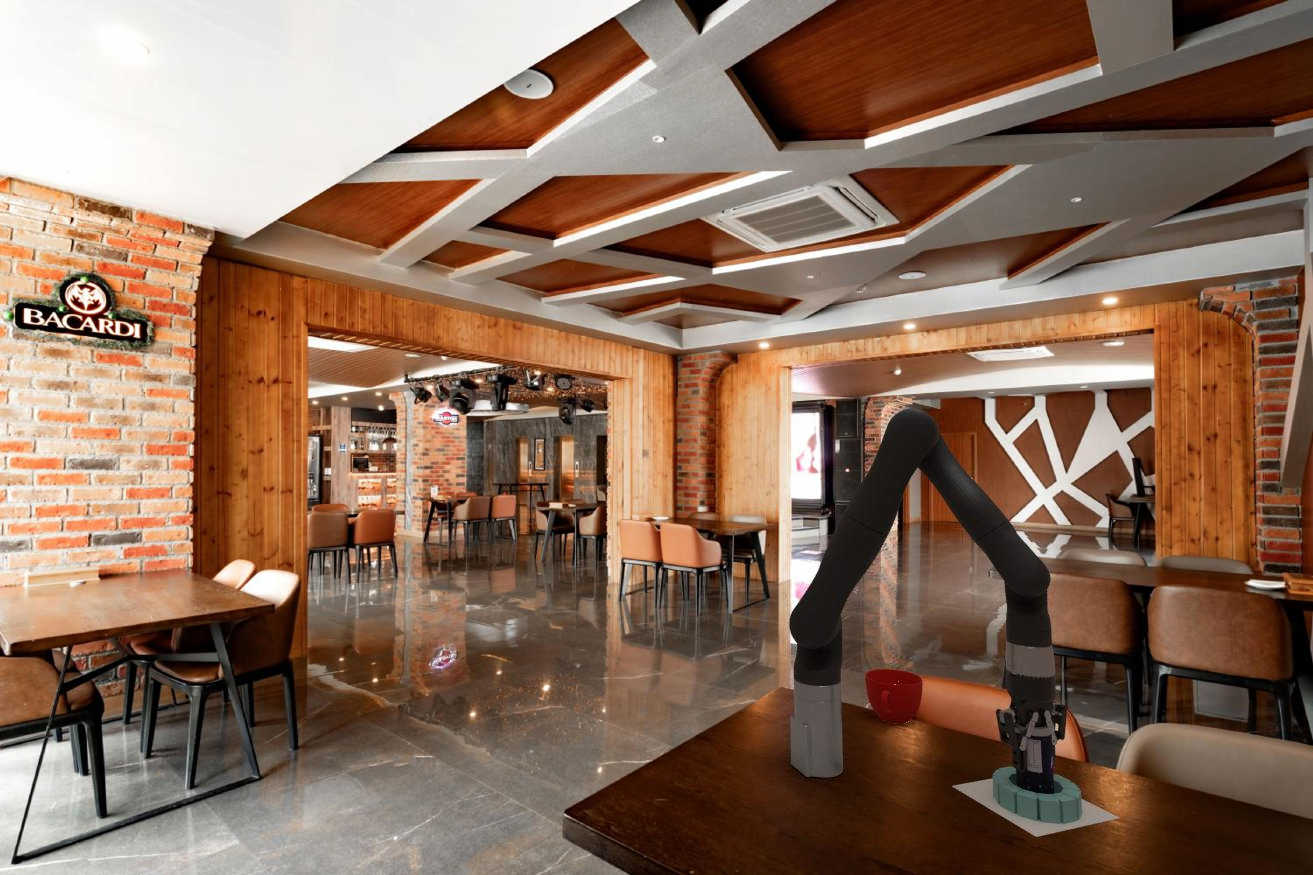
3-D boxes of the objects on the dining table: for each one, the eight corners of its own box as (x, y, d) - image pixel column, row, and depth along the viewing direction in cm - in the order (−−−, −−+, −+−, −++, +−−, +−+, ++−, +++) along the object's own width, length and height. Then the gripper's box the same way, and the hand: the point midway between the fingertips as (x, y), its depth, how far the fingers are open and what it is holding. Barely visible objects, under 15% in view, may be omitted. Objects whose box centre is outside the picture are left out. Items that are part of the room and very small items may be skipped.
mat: (1036, 841, 102) (1036, 836, 102) (951, 790, 119) (951, 785, 119) (1120, 822, 107) (1119, 817, 108) (1027, 776, 125) (1027, 771, 125)
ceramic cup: (855, 728, 149) (854, 683, 150) (873, 706, 164) (872, 666, 164) (915, 739, 143) (913, 693, 143) (928, 715, 157) (926, 673, 158)
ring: (1040, 828, 104) (1039, 806, 104) (977, 792, 117) (976, 772, 117) (1099, 815, 108) (1098, 794, 108) (1033, 781, 121) (1032, 762, 121)
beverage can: (1060, 803, 109) (1056, 730, 110) (1023, 800, 110) (1020, 728, 111) (1046, 788, 115) (1043, 718, 116) (1012, 785, 116) (1009, 716, 117)
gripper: (1042, 659, 120) (1046, 753, 119) (980, 666, 115) (984, 764, 114) (1080, 670, 113) (1085, 770, 111) (1016, 678, 108) (1020, 783, 107)
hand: (1034, 767), depth 113 cm, fingers closed on beverage can, 5 cm apart
